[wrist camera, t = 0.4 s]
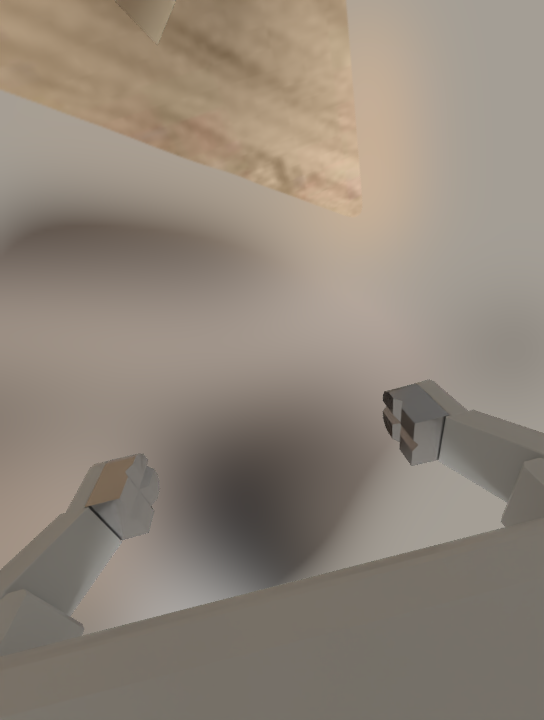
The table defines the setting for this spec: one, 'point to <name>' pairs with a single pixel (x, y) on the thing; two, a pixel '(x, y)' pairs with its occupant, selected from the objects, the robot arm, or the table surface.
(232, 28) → the table surface
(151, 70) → the table surface
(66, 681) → the robot arm
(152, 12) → the tan brown bar
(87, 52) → the table surface
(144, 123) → the table surface
